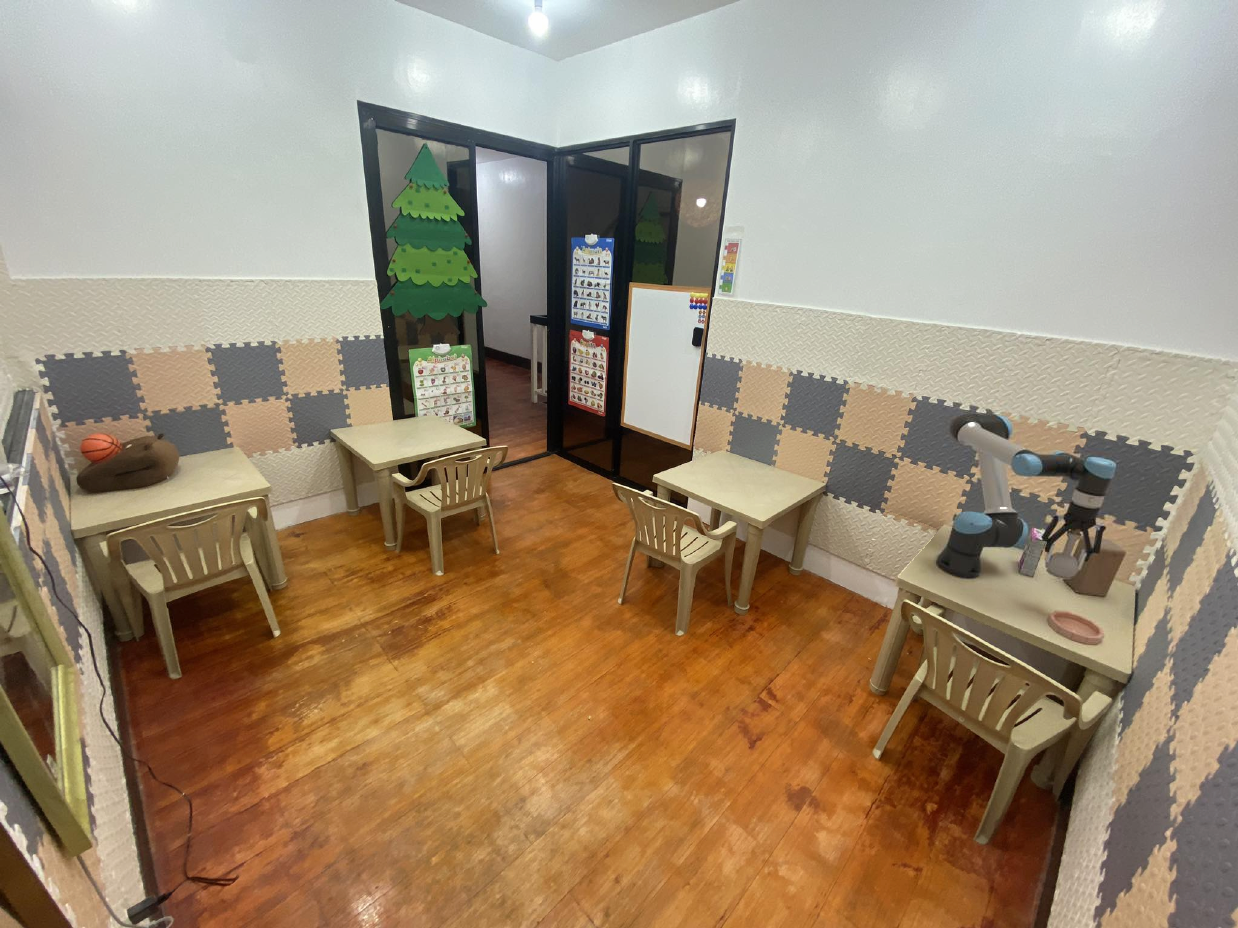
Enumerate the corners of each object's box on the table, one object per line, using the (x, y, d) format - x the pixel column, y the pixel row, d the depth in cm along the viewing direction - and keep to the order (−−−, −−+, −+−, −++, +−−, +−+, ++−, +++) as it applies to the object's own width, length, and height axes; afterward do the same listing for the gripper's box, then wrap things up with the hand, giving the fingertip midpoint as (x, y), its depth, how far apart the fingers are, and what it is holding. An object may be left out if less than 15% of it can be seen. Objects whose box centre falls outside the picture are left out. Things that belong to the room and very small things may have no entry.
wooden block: (1106, 598, 195) (1128, 551, 188) (1076, 593, 197) (1097, 547, 189) (1089, 583, 204) (1110, 538, 197) (1061, 579, 206) (1080, 534, 199)
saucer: (1051, 633, 174) (1054, 627, 173) (1045, 611, 185) (1047, 605, 184) (1105, 650, 167) (1108, 643, 166) (1095, 626, 178) (1098, 620, 178)
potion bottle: (1065, 582, 175) (1084, 535, 169) (1037, 569, 183) (1054, 523, 176) (1080, 578, 178) (1099, 531, 172) (1052, 565, 186) (1069, 519, 180)
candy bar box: (1018, 561, 217) (1031, 526, 211) (1033, 566, 214) (1047, 530, 208) (1017, 573, 208) (1031, 537, 202) (1033, 577, 206) (1047, 541, 200)
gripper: (1047, 499, 173) (1026, 559, 181) (1130, 516, 164) (1103, 578, 171) (1044, 492, 179) (1024, 551, 187) (1123, 508, 170) (1098, 569, 177)
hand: (1062, 564), depth 179 cm, fingers closed on potion bottle, 8 cm apart
